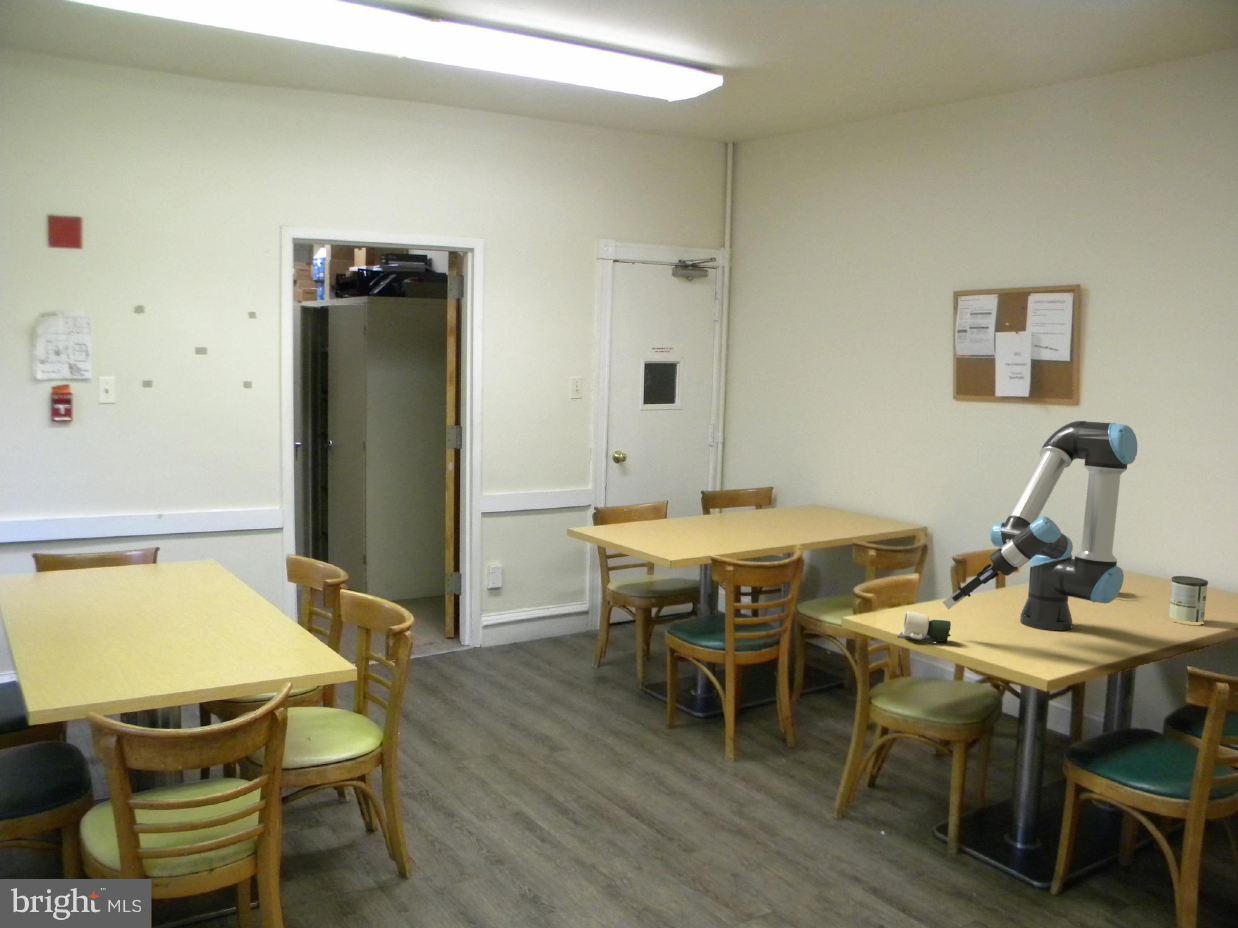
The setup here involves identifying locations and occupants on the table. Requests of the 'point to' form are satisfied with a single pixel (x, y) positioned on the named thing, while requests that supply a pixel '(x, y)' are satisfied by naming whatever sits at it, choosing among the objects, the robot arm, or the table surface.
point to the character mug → (925, 627)
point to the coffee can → (1188, 598)
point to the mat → (917, 639)
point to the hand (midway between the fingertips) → (946, 605)
